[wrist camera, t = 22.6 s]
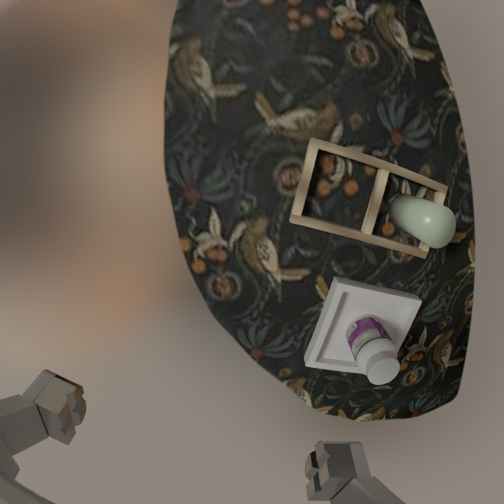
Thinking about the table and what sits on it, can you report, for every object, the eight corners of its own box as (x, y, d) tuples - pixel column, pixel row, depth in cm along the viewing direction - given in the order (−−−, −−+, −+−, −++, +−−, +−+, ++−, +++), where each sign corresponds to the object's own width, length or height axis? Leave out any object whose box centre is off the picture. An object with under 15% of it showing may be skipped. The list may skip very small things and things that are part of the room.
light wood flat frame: (310, 138, 33) (312, 137, 32) (443, 185, 34) (447, 186, 32) (289, 220, 36) (290, 222, 35) (421, 256, 37) (425, 258, 35)
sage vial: (394, 189, 34) (429, 200, 26) (421, 199, 34) (460, 213, 26) (384, 222, 35) (416, 242, 27) (412, 231, 36) (447, 252, 27)
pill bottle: (384, 333, 39) (409, 375, 30) (351, 350, 40) (370, 396, 31) (373, 305, 38) (400, 345, 29) (338, 324, 39) (356, 368, 30)
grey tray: (334, 276, 38) (338, 282, 36) (415, 294, 38) (422, 301, 36) (304, 356, 42) (305, 366, 40) (380, 367, 42) (384, 375, 40)
